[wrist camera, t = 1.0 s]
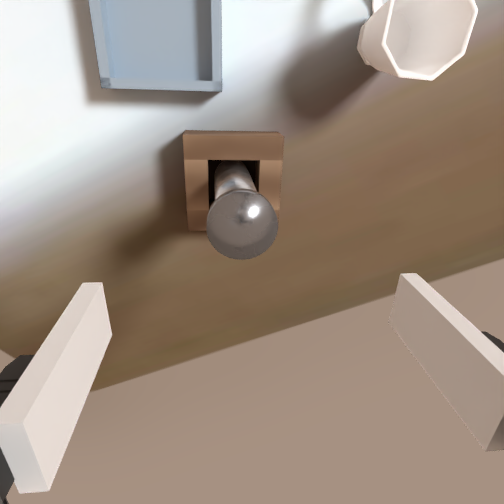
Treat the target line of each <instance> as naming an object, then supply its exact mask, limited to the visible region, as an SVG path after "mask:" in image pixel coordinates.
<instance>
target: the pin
mask: <svg viewBox="0 0 504 504" xmlns="http://www.w3.org/2000/svg"><path fill="white" fill-rule="evenodd" d="M206 229H207V235H208V238H209V241H210V242H211V244H212V245H213V247H214V248H215V249H216V250H217V251H218V252H220V253H221V254H223V255H224V256H227V257H229V258H233V259H250V258H253V257H256V256H258V255H260V254H262V253H263V252H265V251H266V250H267V249H268V248H269V247H270V246H271V245H272V243H273V241H274V240H275V237H276V235H277V231H278V219H277V215H276V213H275V211H274V209H273V207H272V205H271V203H270V202H269V200H268V199H267V198H266V197H265V196H263V195H262V194H260V193H259V192H257V191H256V188H255V186H254V183H253V181H252V178H251V176H250V174H249V171H248V169H247V167H246V166H245V165H244V164H243V163H242V162H241V161H239V160H225V161H223V162H222V163H220V164H219V165H218V167H217V168H216V171H215V201H214V202H213V204H212V205H211V207H210V209H209V211H208V215H207V226H206Z"/></svg>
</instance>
